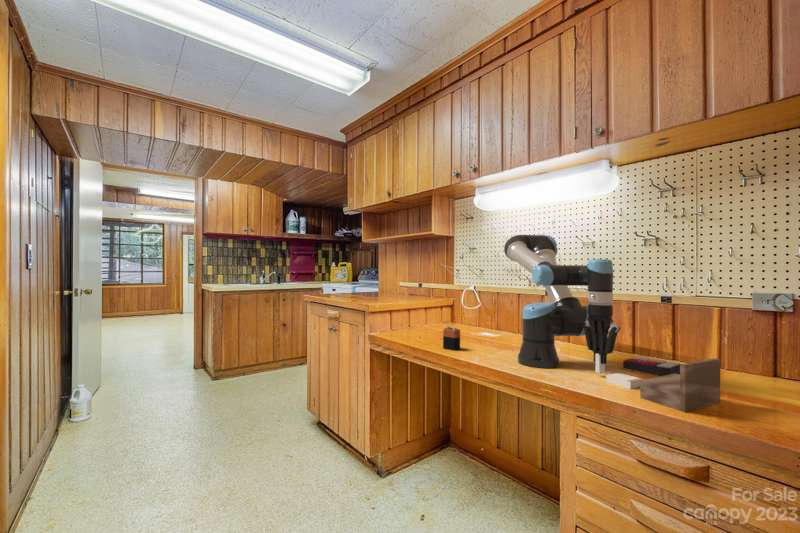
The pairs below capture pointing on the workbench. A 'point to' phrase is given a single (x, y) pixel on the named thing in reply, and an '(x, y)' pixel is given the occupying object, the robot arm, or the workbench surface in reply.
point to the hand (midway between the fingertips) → (600, 372)
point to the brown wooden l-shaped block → (685, 386)
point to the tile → (624, 380)
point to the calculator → (652, 366)
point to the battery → (451, 338)
